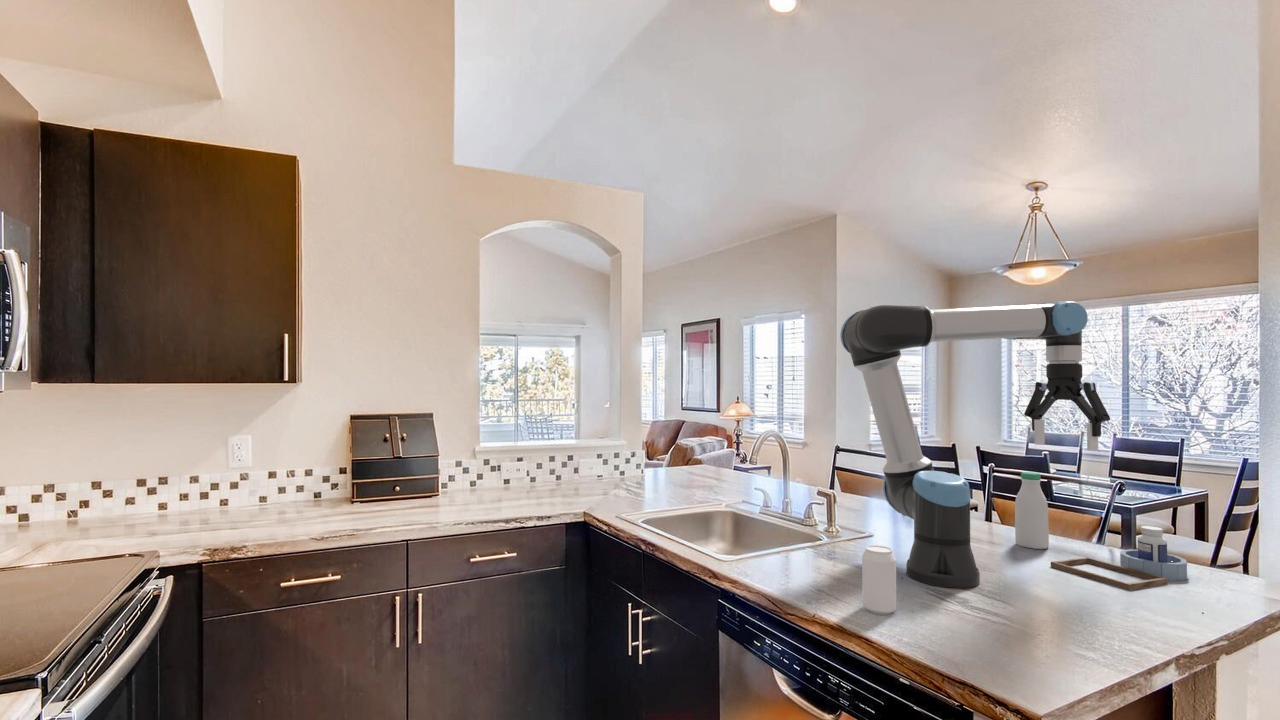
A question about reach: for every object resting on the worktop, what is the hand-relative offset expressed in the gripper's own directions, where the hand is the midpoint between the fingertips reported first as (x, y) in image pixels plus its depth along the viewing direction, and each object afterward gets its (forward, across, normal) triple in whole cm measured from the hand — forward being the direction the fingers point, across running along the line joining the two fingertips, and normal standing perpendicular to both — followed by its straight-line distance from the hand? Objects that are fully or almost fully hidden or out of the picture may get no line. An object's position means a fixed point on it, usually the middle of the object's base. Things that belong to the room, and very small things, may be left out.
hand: (1065, 447), depth 155 cm
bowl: (+28, -13, -11) cm, 33 cm away
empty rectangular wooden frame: (+28, -11, +2) cm, 31 cm away
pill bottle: (+28, -13, -11) cm, 33 cm away
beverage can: (+29, -12, +68) cm, 75 cm away
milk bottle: (+29, +13, -5) cm, 32 cm away
